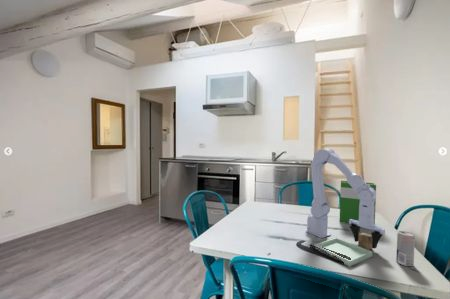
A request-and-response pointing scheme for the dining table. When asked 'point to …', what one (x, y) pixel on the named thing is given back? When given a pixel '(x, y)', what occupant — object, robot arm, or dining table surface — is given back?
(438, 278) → the dining table surface
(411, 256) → the energy drink
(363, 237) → the walnut block
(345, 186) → the hardback book
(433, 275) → the dining table surface
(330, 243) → the tray
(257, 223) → the dining table surface
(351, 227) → the robot arm
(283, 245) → the dining table surface
